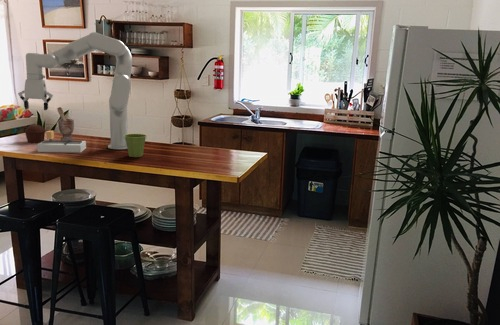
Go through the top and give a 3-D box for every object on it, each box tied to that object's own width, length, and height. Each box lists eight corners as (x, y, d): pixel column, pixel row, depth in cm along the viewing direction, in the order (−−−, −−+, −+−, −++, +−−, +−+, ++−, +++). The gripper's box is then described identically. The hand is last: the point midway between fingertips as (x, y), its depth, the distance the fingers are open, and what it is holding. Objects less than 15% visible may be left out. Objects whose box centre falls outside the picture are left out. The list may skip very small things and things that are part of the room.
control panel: (86, 147, 241) (85, 139, 240) (80, 152, 229) (80, 143, 228) (45, 147, 238) (44, 138, 237) (37, 151, 226) (37, 143, 225)
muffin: (20, 142, 246) (19, 125, 244) (33, 139, 257) (32, 123, 254) (38, 144, 244) (37, 127, 242) (50, 141, 255) (49, 124, 252)
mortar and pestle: (52, 141, 255) (49, 107, 250) (62, 138, 263) (60, 106, 258) (67, 143, 252) (65, 109, 247) (77, 140, 260) (76, 108, 255)
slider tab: (54, 141, 234) (53, 130, 232) (51, 142, 230) (51, 131, 228) (49, 141, 234) (49, 130, 232) (47, 142, 229) (46, 131, 228)
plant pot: (151, 155, 229) (151, 135, 226) (135, 159, 219) (135, 138, 216) (135, 152, 235) (135, 132, 232) (119, 156, 225) (118, 135, 222)
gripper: (54, 77, 228) (55, 109, 232) (20, 75, 226) (22, 107, 230) (49, 78, 220) (50, 111, 224) (14, 76, 219) (16, 109, 222)
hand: (36, 109), depth 227 cm, fingers open, 9 cm apart
